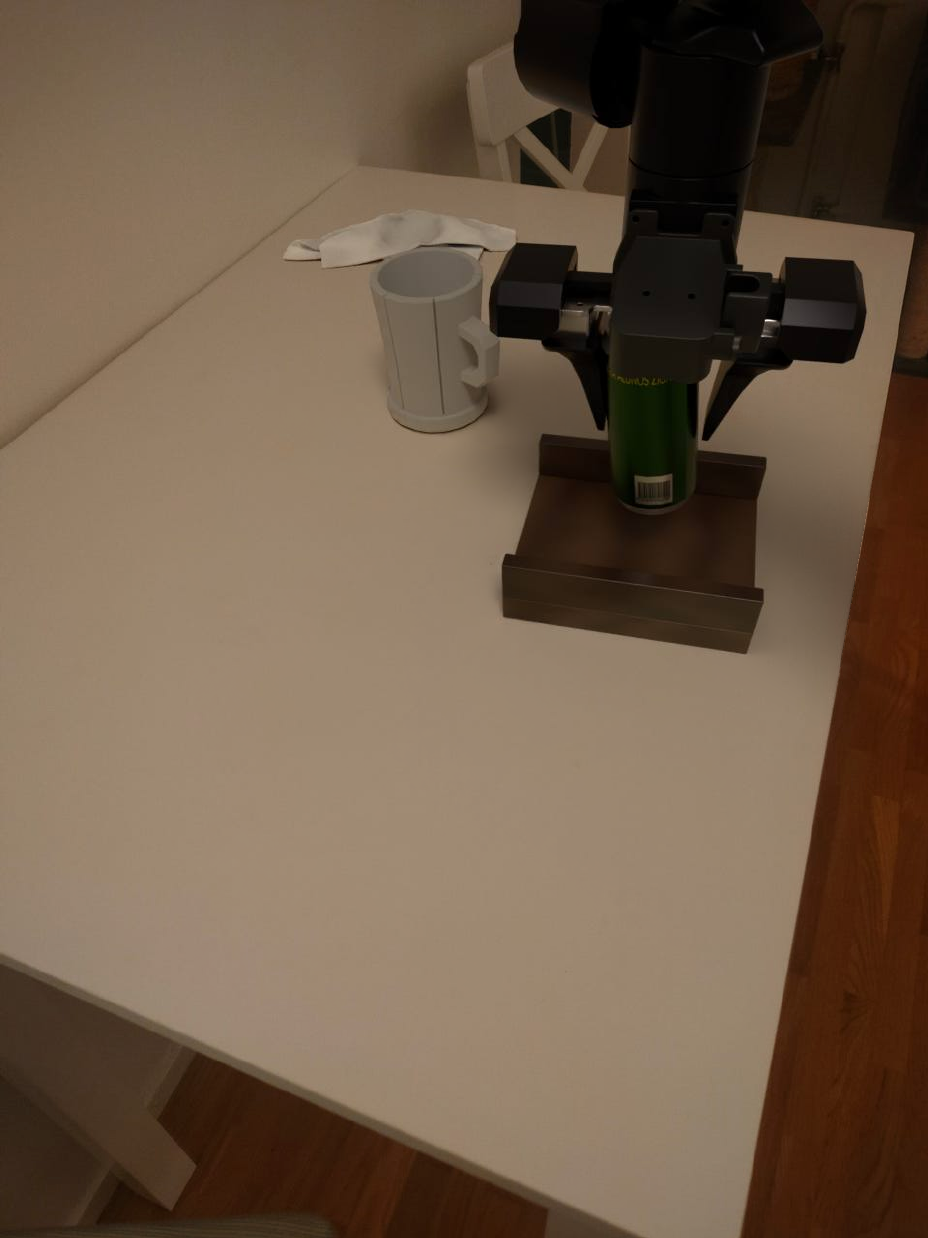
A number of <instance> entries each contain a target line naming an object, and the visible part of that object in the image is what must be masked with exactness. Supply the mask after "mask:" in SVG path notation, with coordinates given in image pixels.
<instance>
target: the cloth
mask: <svg viewBox="0 0 928 1238" xmlns="http://www.w3.org/2000/svg"><path fill="white" fill-rule="evenodd" d="M516 231H517V230H516V229H513V228H509V227H506V226H503V225H500V224H497V223H496V224H495V223H492V224H491V223H486V222H483V221H480V220H478V219H475V218H462V217H458V216H456V215H452V214H449V213H445V214H443V213H441V214H439V213H435V212H430V211H428V210H427V211H426V210H421V209H413V208H408V209H406V210H405V211H403V212H401V213H400V212H399V213H398V212H390V213H386V214H381V215H377V216H376V217H374V219H372V220H368V221H365V222H362V223H361V222H360V223H353V224H352V225H348V226H345V227H343V228H339V229H336V230H334V231H331V232H329V233H326V234H325V235H323V236H321V237H319V238H304V239H301V238H300V239H294V240H293V241H292V242H291V243H289V244H288V245H287V247H286V250H285V251H284V253H283V255H282V258H283V260H287V261H288V260H289V261H307V260H321V261H320V263H321V269H322V270H324V269H325V270H326V269H334V268H342V267H351V266H357V265H361V264H366V263H370V262H374V261H378V260H384V259H386V258H389V257H390V256H392V255H395V254H397V253H400V252H403V251H407V250H412V249H417V248H418V249H419V251H420V248H429V247H440V248H451V249H455V250H459V251H462V252H465V253H468V254H469V255H471V256H473V257H475V258H476V259H477V260H478V261H479V260H480V258H481V255H482V254H483V252H484V250H485V249H486V250H488V251H490V252H508V251H509V250H510V249H511V248H512V247H513V246H514V245H515V244H516V243H517V239H516V237H517V236H516V235H517V232H516Z"/></svg>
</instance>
